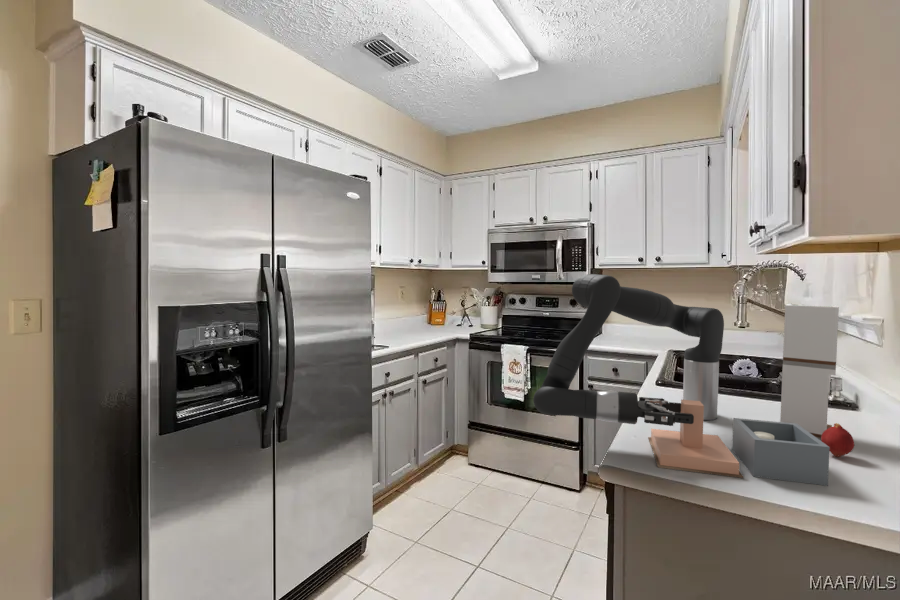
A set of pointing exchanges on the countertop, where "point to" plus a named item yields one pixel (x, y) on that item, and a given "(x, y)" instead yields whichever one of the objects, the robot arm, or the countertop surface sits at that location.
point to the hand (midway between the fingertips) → (689, 413)
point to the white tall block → (808, 365)
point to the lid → (693, 445)
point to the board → (688, 468)
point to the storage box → (780, 451)
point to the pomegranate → (838, 440)
